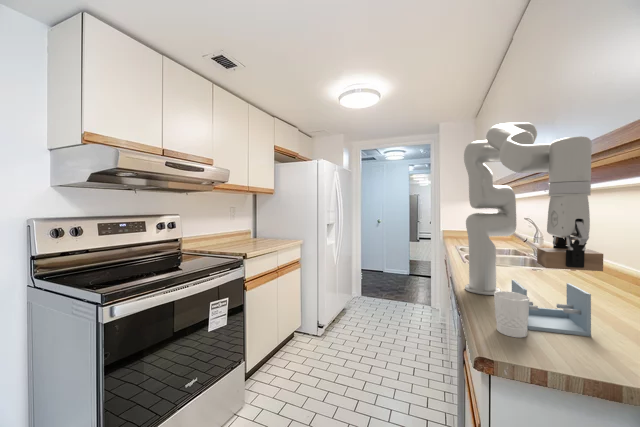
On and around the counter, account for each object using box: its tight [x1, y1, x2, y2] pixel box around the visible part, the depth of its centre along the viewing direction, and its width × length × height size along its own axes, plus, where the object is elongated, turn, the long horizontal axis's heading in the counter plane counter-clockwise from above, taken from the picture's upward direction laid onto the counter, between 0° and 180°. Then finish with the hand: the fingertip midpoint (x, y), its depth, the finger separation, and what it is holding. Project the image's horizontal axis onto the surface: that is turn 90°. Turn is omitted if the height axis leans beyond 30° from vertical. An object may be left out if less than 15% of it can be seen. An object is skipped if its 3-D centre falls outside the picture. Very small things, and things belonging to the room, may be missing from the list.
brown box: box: [536, 247, 604, 272], centre depth 67 cm, size 6×10×4 cm, turn 69°
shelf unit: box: [511, 279, 592, 337], centre depth 79 cm, size 11×15×11 cm
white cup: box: [493, 290, 530, 339], centre depth 75 cm, size 8×8×10 cm
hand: (567, 263), depth 67 cm, fingers closed on brown box, 6 cm apart
